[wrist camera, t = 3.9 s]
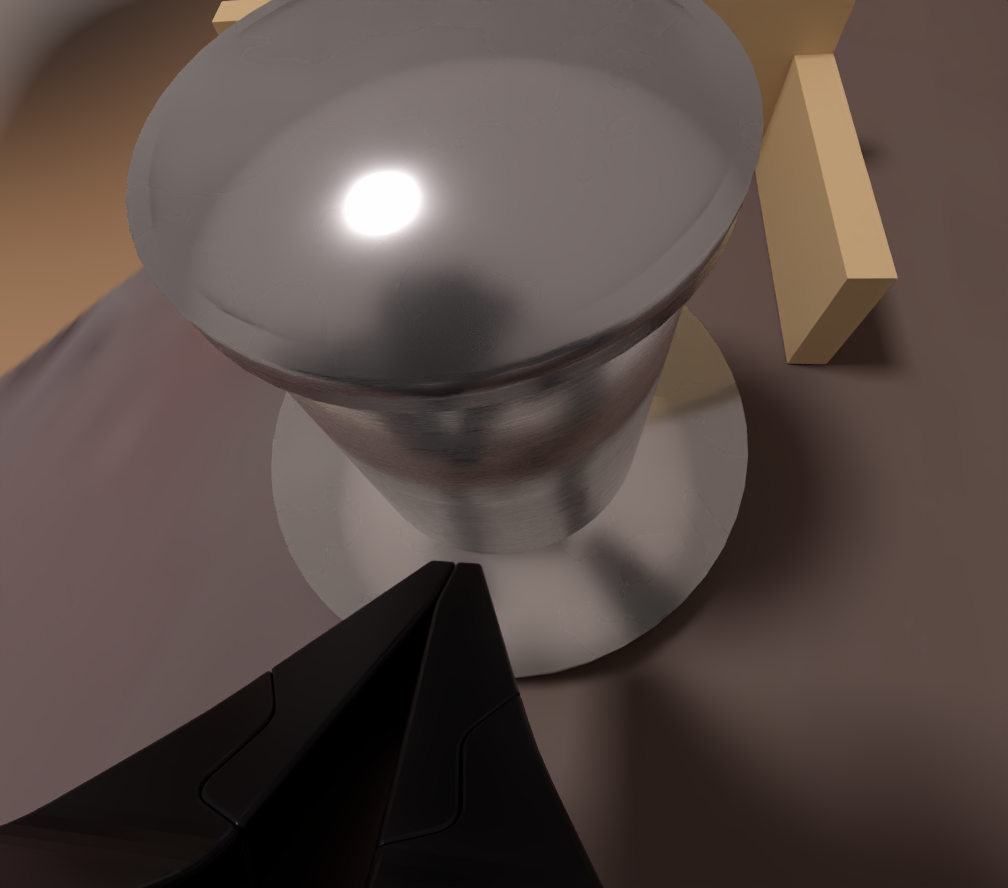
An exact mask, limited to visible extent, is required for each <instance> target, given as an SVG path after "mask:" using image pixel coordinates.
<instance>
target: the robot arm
mask: <svg viewBox="0 0 1008 888" xmlns="http://www.w3.org/2000/svg"><path fill="white" fill-rule="evenodd" d="M0 888H603V886H602V884H601V882H600V880H599V878H598V876H597V874H596V872H595V870H594V867H593V865H592V863H591V861H590V859H589V857H588V855H587V853H586V851H585V849H584V847H583V845H582V842H581V840H580V838H579V836H578V834H577V832H576V830H575V828H574V826H573V824H572V822H571V820H570V817H569V815H568V813H567V811H566V809H565V807H564V805H563V803H562V801H561V799H560V797H559V795H558V793H557V790H556V788H555V786H554V784H553V782H552V780H551V777H550V775H549V773H548V770H547V768H546V766H545V764H544V761H543V759H542V757H541V754H540V752H539V750H538V747H537V744H536V741H535V738H534V736H533V733H532V730H531V727H530V724H529V721H528V718H527V715H526V712H525V708H524V705H523V702H522V699H521V697H520V693H519V689H518V686H517V683H516V679H515V676H514V672H513V669H512V666H511V662H510V659H509V656H508V652H507V649H506V646H505V642H504V639H503V636H502V632H501V629H500V625H499V622H498V619H497V615H496V612H495V609H494V605H493V602H492V599H491V595H490V592H489V589H488V585H487V582H486V578H485V575H484V572H483V568H482V566H481V565H480V564H478V563H465V562H459V563H457V564H455V563H454V562H451V561H437V560H432V561H430V562H428V563H427V564H425V565H424V566H422V567H421V568H419V569H418V570H416V571H415V572H413V573H412V574H410V575H409V576H408V577H406V578H405V579H403V580H402V581H400V582H399V583H397V584H396V585H394V586H393V587H391V588H390V589H388V590H387V591H385V592H384V593H382V594H381V595H380V596H378V597H377V598H375V599H374V600H372V601H371V602H369V603H368V604H366V605H365V606H363V607H362V608H360V609H359V610H357V611H356V612H354V613H353V614H351V615H350V616H349V617H347V618H346V619H344V620H343V621H341V622H340V623H338V624H337V625H335V626H334V627H332V628H331V629H329V630H328V631H326V632H325V633H323V634H322V635H321V636H319V637H318V638H316V639H315V640H313V641H312V642H310V643H309V644H307V645H306V646H304V647H303V648H301V649H300V650H298V651H297V652H295V653H294V654H292V655H291V656H290V657H288V658H287V659H285V660H284V661H282V662H281V663H279V664H278V665H276V666H275V667H273V668H272V673H271V672H270V671H267V672H266V673H264V674H263V675H261V676H260V677H258V678H257V679H255V680H254V681H252V682H251V683H249V684H248V685H246V686H245V687H243V688H242V689H240V690H239V691H237V692H236V693H234V694H233V695H231V696H230V697H228V698H226V699H225V700H223V701H222V702H220V703H219V704H217V705H216V706H214V707H213V708H211V709H210V710H208V711H206V712H205V713H203V714H201V715H200V716H198V717H196V718H195V719H193V720H191V721H190V722H188V723H186V724H185V725H183V726H181V727H180V728H178V729H176V730H175V731H173V732H171V733H170V734H168V735H166V736H164V737H163V738H161V739H159V740H158V741H156V742H154V743H152V744H151V745H149V746H147V747H145V748H144V749H142V750H140V751H138V752H137V753H135V754H133V755H132V756H130V757H128V758H126V759H125V760H123V761H121V762H119V763H118V764H116V765H114V766H112V767H111V768H109V769H107V770H106V771H104V772H102V773H100V774H99V775H97V776H95V777H93V778H92V779H90V780H88V781H86V782H85V783H83V784H81V785H80V786H78V787H76V788H74V789H73V790H71V791H69V792H67V793H66V794H64V795H62V796H61V797H59V798H57V799H55V800H54V801H52V802H50V803H48V804H46V805H44V806H42V807H41V808H39V809H37V810H35V811H33V812H31V813H29V814H27V815H25V816H23V817H21V818H18V819H16V820H14V821H12V822H9V823H7V824H4V825H1V826H0Z"/></svg>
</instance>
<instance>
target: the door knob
mask: <svg viewBox="0 0 1008 888" xmlns="http://www.w3.org/2000/svg"><path fill="white" fill-rule="evenodd" d="M763 125H764V120H763V108H762V96H761V91H760V88H759V84H758V81H757V78H756V74H755V71H754V67H753V65H752V63H751V61H750V59H749V58H748V56H747V54H746V52H745V50H744V48H743V46H742V44H741V42H740V41H739V40H738V38H737V37H736V36H735V35H734V33H733V32H732V31H731V29H730V28H729V27H728V26H727V24H726V23H725V22H724V21H723V19H722V18H720V17H719V16H718V15H717V14H716V13H715V12H714V11H713V10H712V9H711V8H710V7H709V6H707V5H706V4H705V3H704V2H703V1H702V0H271V1H269V2H267V3H266V4H264V5H262V6H261V7H259V8H257V9H256V10H254V11H252V12H250V13H249V14H248V15H246V16H245V17H243V18H242V19H240V20H239V21H238V22H236V23H235V24H233V25H232V26H230V27H229V28H228V29H226V30H225V31H224V32H222V33H221V34H220V35H219V36H218V37H216V38H215V39H214V40H213V41H212V42H211V43H209V44H208V45H207V46H206V47H205V48H203V49H202V50H201V51H200V52H199V53H198V54H197V55H196V56H195V57H194V58H193V59H192V60H191V61H190V62H189V63H188V64H187V65H186V66H185V67H184V68H183V70H181V71H180V72H179V74H178V75H177V76H176V78H175V79H174V80H173V81H172V83H171V84H170V85H169V86H168V88H167V89H166V90H165V91H164V93H163V94H162V95H161V97H160V98H159V100H158V102H157V103H156V105H155V107H154V108H153V110H152V112H151V113H150V115H149V117H148V118H147V120H146V122H145V124H144V126H143V129H142V131H141V134H140V136H139V138H138V141H137V143H136V145H135V148H134V152H133V156H132V160H131V164H130V168H129V172H128V179H127V195H126V206H127V214H128V222H129V230H130V233H131V236H132V239H133V242H134V245H135V248H136V251H137V253H138V256H139V258H140V260H141V262H142V264H143V265H144V267H145V269H146V270H147V272H148V274H149V275H150V277H151V279H152V280H153V282H154V284H155V285H156V286H157V287H158V288H159V290H160V291H161V292H162V293H163V294H164V295H165V296H166V297H167V298H168V300H169V301H170V302H171V303H172V304H173V305H174V306H175V307H176V308H177V309H178V310H179V311H180V312H181V313H182V314H183V315H184V316H185V317H186V318H187V319H188V320H189V321H190V322H191V323H192V324H193V325H194V326H195V327H196V328H197V329H198V330H199V331H200V332H201V333H202V334H203V335H204V336H205V337H206V338H207V339H208V340H209V341H210V342H211V343H212V344H213V345H214V346H215V347H216V348H217V349H218V350H219V351H221V352H222V353H223V354H225V355H226V356H227V357H228V358H230V359H231V360H232V361H234V362H235V363H236V364H238V365H239V366H240V367H241V368H243V369H244V370H246V371H248V372H250V373H251V374H253V375H255V376H257V377H259V378H261V379H263V380H264V381H266V382H268V383H270V384H272V385H274V386H276V387H278V388H281V389H283V390H286V391H287V392H286V395H285V398H284V401H283V404H282V407H281V409H280V412H279V415H278V420H277V425H276V430H275V435H274V440H273V449H272V465H271V474H272V487H273V499H274V503H275V508H276V512H277V516H278V521H279V525H280V528H281V531H282V533H283V536H284V538H285V541H286V544H287V546H288V549H289V551H290V554H291V556H292V557H293V559H294V561H295V562H296V564H297V566H298V568H299V569H300V571H301V573H302V575H303V576H304V578H305V580H306V581H307V582H308V584H309V585H310V586H311V587H312V589H313V590H314V591H315V592H316V594H317V595H318V596H319V597H320V599H321V600H322V601H323V602H324V604H325V605H326V606H327V607H328V608H330V609H331V610H332V611H333V612H334V613H335V614H336V615H337V616H338V617H339V618H340V619H341V620H344V619H346V618H347V617H349V616H350V615H351V614H353V613H354V612H356V611H357V610H359V609H360V608H362V607H363V606H365V605H366V604H368V603H369V602H371V601H372V600H374V599H375V598H377V597H378V596H380V595H381V594H382V593H384V592H385V591H387V590H388V589H390V588H391V587H393V586H394V585H396V584H397V583H399V582H400V581H402V580H403V579H405V578H406V577H408V576H409V575H410V574H412V573H413V572H415V571H416V570H418V569H419V568H421V567H422V566H424V565H425V564H427V563H428V562H430V561H432V560H437V561H451V562H454V563H455V564H457V563H459V562H465V563H478V564H480V565H481V566H482V568H483V572H484V575H485V578H486V582H487V585H488V589H489V592H490V595H491V599H492V602H493V605H494V609H495V612H496V615H497V619H498V622H499V625H500V629H501V632H502V636H503V639H504V642H505V646H506V649H507V652H508V656H509V659H510V662H511V666H512V669H513V672H514V676H515V678H522V677H529V676H537V675H544V674H551V673H556V672H560V671H563V670H567V669H570V668H574V667H577V666H581V665H584V664H588V663H590V662H592V661H594V660H597V659H599V658H601V657H603V656H606V655H608V654H610V653H612V652H614V651H617V650H619V649H620V648H622V647H624V646H625V645H627V644H628V643H630V642H631V641H633V640H635V639H636V638H638V637H639V636H641V635H642V634H644V633H646V632H647V631H649V630H650V629H652V628H653V627H655V626H656V625H657V624H659V623H660V622H661V621H662V620H663V619H664V618H665V617H667V616H668V615H669V614H670V613H671V612H672V611H674V610H675V609H676V608H677V607H678V606H679V605H681V604H682V603H683V602H684V601H685V599H686V598H687V597H688V596H689V595H690V594H691V592H692V591H693V590H694V589H695V588H696V587H697V585H698V584H699V583H700V582H701V581H702V580H703V579H704V577H705V576H706V575H707V573H708V572H709V570H710V568H711V567H712V565H713V564H714V562H715V560H716V559H717V557H718V556H719V554H720V552H721V551H722V549H723V548H724V546H725V543H726V541H727V539H728V536H729V534H730V532H731V529H732V527H733V525H734V523H735V520H736V518H737V515H738V511H739V507H740V503H741V499H742V496H743V492H744V488H745V480H746V471H747V461H748V445H747V426H746V421H745V416H744V411H743V406H742V401H741V397H740V394H739V391H738V388H737V386H736V383H735V380H734V377H733V374H732V372H731V370H730V368H729V366H728V364H727V362H726V360H725V358H724V356H723V355H722V353H721V351H720V349H719V347H718V346H717V344H716V343H715V341H714V340H713V339H712V337H711V336H710V334H709V333H708V332H707V330H706V329H705V327H704V326H703V325H702V324H701V323H700V321H699V320H698V319H697V318H696V317H695V316H694V315H693V314H692V313H691V312H690V311H689V310H688V309H687V308H686V306H685V305H684V304H685V303H686V302H687V301H688V300H689V299H690V298H691V297H692V295H693V294H694V293H695V291H696V290H697V289H698V288H699V286H700V285H701V284H702V282H703V281H704V280H705V278H706V277H707V276H708V275H709V273H710V272H711V271H712V269H713V268H714V266H715V264H716V262H717V260H718V259H719V257H720V255H721V253H722V251H723V249H724V248H725V246H726V244H727V242H728V240H729V238H730V236H731V233H732V230H733V228H734V225H735V223H736V220H737V217H738V215H739V212H740V209H741V207H742V204H743V201H744V199H745V196H746V194H747V191H748V188H749V185H750V182H751V179H752V176H753V173H754V170H755V167H756V164H757V162H758V159H759V156H760V150H761V142H762V134H763Z"/></svg>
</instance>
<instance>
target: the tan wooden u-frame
mask: <svg viewBox="0 0 1008 888" xmlns="http://www.w3.org/2000/svg"><path fill="white" fill-rule="evenodd" d="M269 1H271V0H238V1H223V2H222V3H221V5H220V7H219V9H218V11H217V13H216V15H215V17H214V19H213V21H212V23H213V25H214V27H215V29H216V31H217V33H218V35H220V34H221V33H222V32H224V31H225V30H226V29H228V28H229V27H230V26H232V25H233V24H235V23H236V22H238V21H239V20H240V19H242V18H243V17H245V16H246V15H248V14H249V13H250V12H252V11H254V10H256V9H257V8H259V7H261V6H262V5H264V4H266V3H267V2H269ZM702 1H703V2H704V3H705V4H706V5H707V6H709V7H710V8H711V9H712V10H713V11H714V12H715V13H716V14H717V15H718V16H719V17H720V18H722V19H723V21H724V22H725V23H726V24H727V26H728V27H729V28H730V29H731V31H732V32H733V33H734V35H735V36H736V37H737V38H738V40H739V41H740V42H741V44H742V46H743V48H744V50H745V52H746V54H747V56H748V58H749V59H750V61H751V63H752V65H753V67H754V71H755V74H756V78H757V81H758V84H759V88H760V91H761V96H762V108H763V120H764V125H763V134H762V142H761V150H760V156H759V159H758V162H757V164H756V167H755V173H756V179H757V185H758V191H759V197H760V203H761V209H762V215H763V221H764V227H765V233H766V239H767V245H768V251H769V257H770V263H771V269H772V275H773V281H774V287H775V293H776V299H777V305H778V311H779V317H780V323H781V329H782V335H783V341H784V347H785V353H786V359H787V364H827V363H828V362H829V361H830V359H831V358H832V357H833V356H834V355H835V353H836V352H837V351H838V350H839V349H840V347H841V346H842V345H843V344H844V342H845V341H846V340H847V339H848V338H849V336H850V335H851V334H852V333H853V332H854V330H855V329H856V328H857V327H858V326H859V324H860V323H861V322H862V321H863V320H864V318H865V317H866V316H867V315H868V313H869V312H870V311H871V310H872V309H873V307H874V306H875V305H876V304H877V303H878V301H879V300H880V299H881V298H882V297H883V295H884V294H885V293H886V292H887V290H888V289H889V288H890V287H891V286H892V284H893V283H894V282H895V281H896V280H897V278H898V277H897V274H896V271H895V267H894V264H893V260H892V257H891V253H890V250H889V246H888V243H887V239H886V236H885V232H884V229H883V225H882V222H881V218H880V215H879V211H878V208H877V204H876V201H875V197H874V194H873V190H872V187H871V183H870V180H869V176H868V173H867V170H866V166H865V163H864V159H863V156H862V152H861V149H860V145H859V142H858V138H857V135H856V131H855V128H854V124H853V121H852V117H851V114H850V110H849V107H848V103H847V100H846V96H845V93H844V89H843V86H842V82H841V79H840V75H839V72H838V69H837V65H836V62H835V58H834V55H833V52H834V50H835V48H836V45H837V43H838V41H839V39H840V36H841V34H842V32H843V29H844V27H845V25H846V22H847V20H848V18H849V15H850V13H851V11H852V8H853V6H854V4H855V2H856V0H702Z"/></svg>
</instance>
